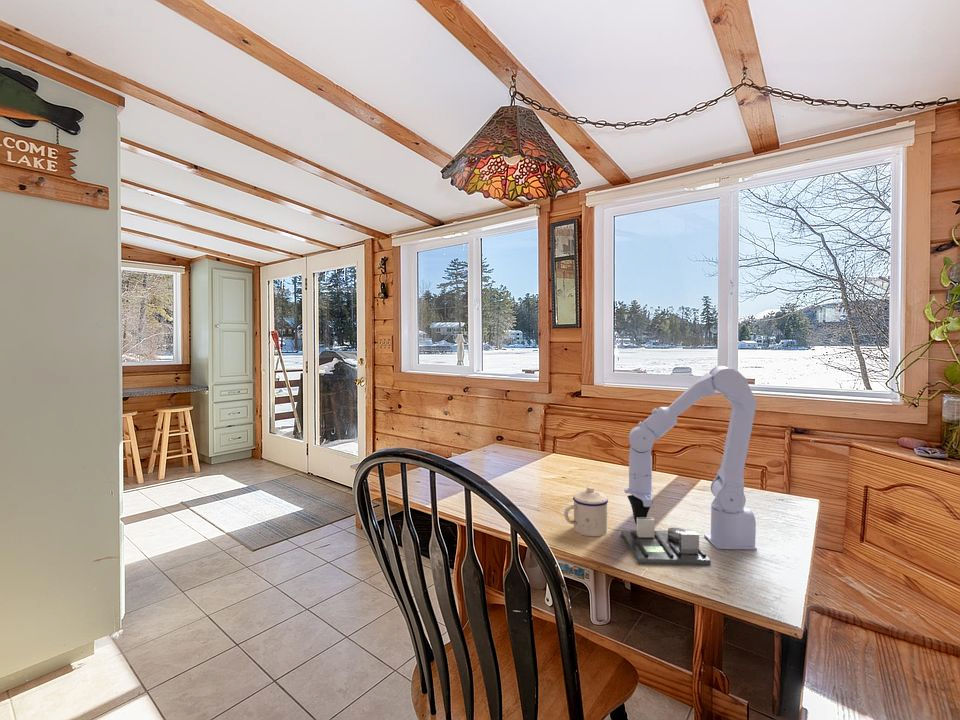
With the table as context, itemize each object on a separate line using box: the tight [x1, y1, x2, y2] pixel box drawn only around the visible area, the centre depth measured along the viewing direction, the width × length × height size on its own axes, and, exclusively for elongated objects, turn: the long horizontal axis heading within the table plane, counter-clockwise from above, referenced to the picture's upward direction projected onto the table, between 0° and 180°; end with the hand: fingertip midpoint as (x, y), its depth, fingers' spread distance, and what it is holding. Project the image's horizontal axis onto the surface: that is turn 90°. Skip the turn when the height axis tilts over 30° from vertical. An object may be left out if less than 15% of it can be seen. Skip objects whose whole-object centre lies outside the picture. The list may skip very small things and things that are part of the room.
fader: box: [636, 516, 656, 537], centre depth 119 cm, size 4×2×5 cm, turn 87°
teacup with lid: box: [563, 486, 609, 538], centre depth 126 cm, size 12×9×12 cm
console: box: [620, 527, 711, 566], centre depth 115 cm, size 16×16×6 cm
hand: (639, 524), depth 124 cm, fingers closed
